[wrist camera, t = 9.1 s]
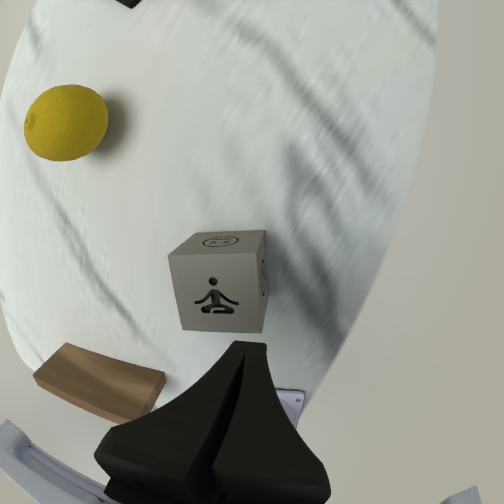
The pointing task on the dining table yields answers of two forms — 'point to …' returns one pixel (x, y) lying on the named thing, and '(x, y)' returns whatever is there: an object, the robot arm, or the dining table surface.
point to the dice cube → (221, 281)
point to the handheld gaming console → (129, 2)
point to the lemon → (66, 123)
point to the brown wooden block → (101, 383)
